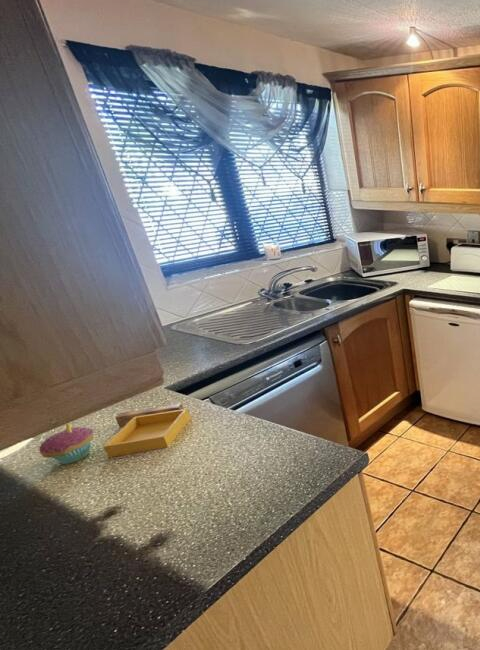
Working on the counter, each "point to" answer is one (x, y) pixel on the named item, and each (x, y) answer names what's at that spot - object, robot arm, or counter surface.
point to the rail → (145, 413)
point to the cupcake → (68, 445)
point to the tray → (148, 432)
